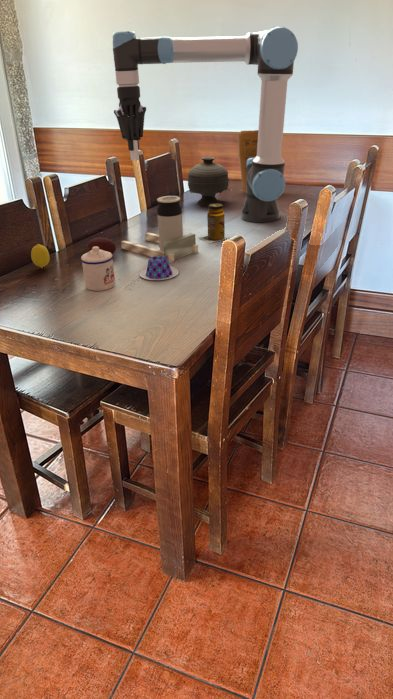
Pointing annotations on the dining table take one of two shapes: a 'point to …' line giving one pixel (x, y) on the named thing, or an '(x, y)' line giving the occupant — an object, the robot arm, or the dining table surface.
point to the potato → (102, 244)
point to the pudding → (158, 269)
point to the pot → (208, 180)
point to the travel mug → (169, 219)
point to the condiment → (215, 224)
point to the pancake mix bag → (246, 151)
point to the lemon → (40, 255)
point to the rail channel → (165, 247)
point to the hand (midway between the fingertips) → (134, 159)
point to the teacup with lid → (98, 269)
